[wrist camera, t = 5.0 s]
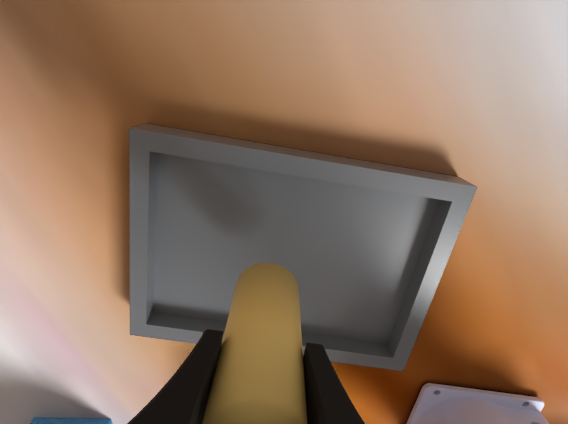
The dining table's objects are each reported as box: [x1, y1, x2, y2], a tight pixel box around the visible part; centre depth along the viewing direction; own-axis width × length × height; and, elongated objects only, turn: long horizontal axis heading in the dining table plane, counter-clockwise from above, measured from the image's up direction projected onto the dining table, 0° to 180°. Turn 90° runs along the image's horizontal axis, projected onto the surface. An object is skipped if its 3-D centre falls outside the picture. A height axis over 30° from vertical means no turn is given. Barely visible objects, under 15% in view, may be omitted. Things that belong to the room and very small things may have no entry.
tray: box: [129, 123, 477, 371], centre depth 20 cm, size 18×13×2 cm
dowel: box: [202, 263, 307, 424], centre depth 13 cm, size 3×3×8 cm
